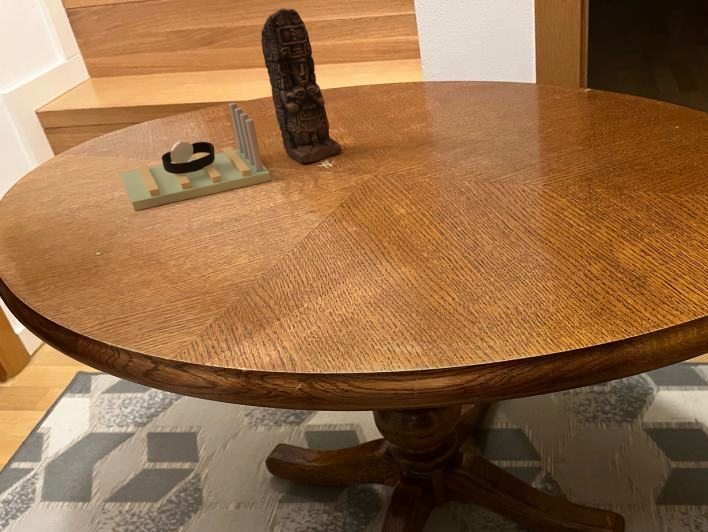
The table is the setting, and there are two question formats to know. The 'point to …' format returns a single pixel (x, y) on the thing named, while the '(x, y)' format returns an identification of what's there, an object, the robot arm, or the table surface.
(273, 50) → the statue
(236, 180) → the rack
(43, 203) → the table surface
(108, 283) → the table surface
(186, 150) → the watch
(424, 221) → the table surface
